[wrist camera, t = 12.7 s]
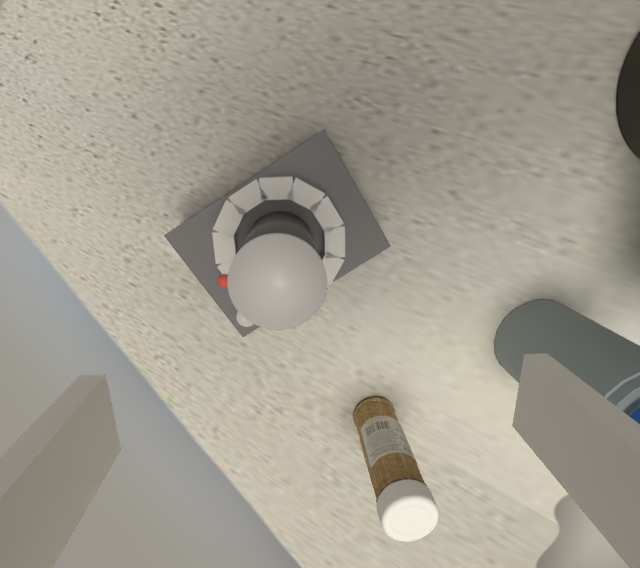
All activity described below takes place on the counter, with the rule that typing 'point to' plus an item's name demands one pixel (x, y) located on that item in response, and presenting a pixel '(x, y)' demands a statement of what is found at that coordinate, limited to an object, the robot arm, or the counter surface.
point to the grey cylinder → (277, 273)
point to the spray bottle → (572, 350)
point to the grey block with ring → (290, 196)
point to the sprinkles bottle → (394, 473)
